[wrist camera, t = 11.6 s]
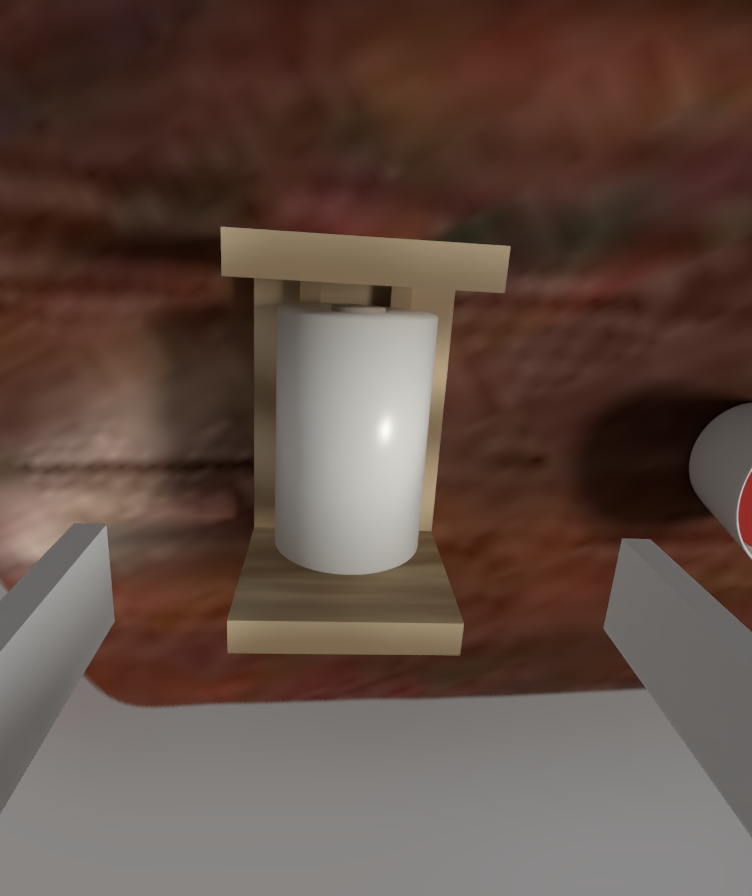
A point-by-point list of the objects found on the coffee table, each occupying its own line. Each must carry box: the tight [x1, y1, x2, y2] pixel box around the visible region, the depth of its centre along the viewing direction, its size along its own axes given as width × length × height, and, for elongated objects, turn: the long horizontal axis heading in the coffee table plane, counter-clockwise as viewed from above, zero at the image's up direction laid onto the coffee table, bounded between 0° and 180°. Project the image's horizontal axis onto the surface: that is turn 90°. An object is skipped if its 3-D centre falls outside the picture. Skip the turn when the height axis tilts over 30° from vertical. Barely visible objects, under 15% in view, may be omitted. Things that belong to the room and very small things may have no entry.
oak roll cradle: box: [221, 227, 510, 655], centre depth 28 cm, size 17×10×10 cm, turn 177°
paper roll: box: [275, 303, 438, 575], centre depth 28 cm, size 11×7×7 cm, turn 177°
